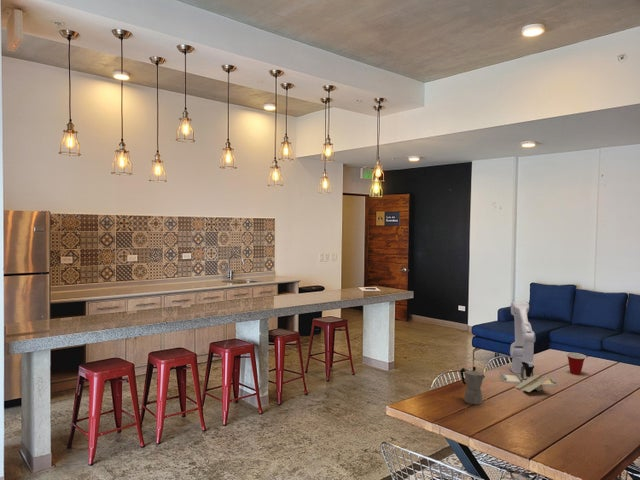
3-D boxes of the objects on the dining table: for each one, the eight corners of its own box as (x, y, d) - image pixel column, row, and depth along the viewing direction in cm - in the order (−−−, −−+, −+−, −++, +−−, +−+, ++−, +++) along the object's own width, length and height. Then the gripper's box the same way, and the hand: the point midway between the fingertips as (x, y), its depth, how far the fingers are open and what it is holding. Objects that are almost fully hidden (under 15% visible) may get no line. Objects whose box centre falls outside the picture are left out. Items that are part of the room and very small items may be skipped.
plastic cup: (567, 375, 299) (568, 355, 298) (564, 370, 309) (564, 351, 309) (587, 377, 296) (587, 357, 295) (583, 372, 306) (583, 353, 306)
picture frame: (520, 377, 287) (521, 366, 287) (531, 378, 286) (531, 367, 286) (522, 379, 284) (522, 368, 284) (532, 380, 283) (533, 368, 283)
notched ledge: (500, 376, 294) (500, 372, 294) (550, 379, 288) (550, 375, 288) (504, 382, 282) (504, 377, 282) (556, 386, 277) (556, 381, 276)
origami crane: (539, 404, 258) (558, 385, 260) (528, 392, 258) (547, 373, 260) (524, 398, 274) (541, 380, 276) (513, 386, 274) (531, 368, 277)
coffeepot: (489, 403, 246) (490, 368, 245) (477, 407, 241) (478, 371, 240) (465, 394, 259) (466, 361, 258) (453, 397, 254) (454, 364, 253)
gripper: (518, 349, 293) (517, 371, 293) (523, 355, 278) (523, 378, 279) (530, 350, 291) (529, 372, 292) (536, 356, 277) (536, 379, 277)
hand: (527, 375), depth 285 cm, fingers closed on picture frame, 4 cm apart
